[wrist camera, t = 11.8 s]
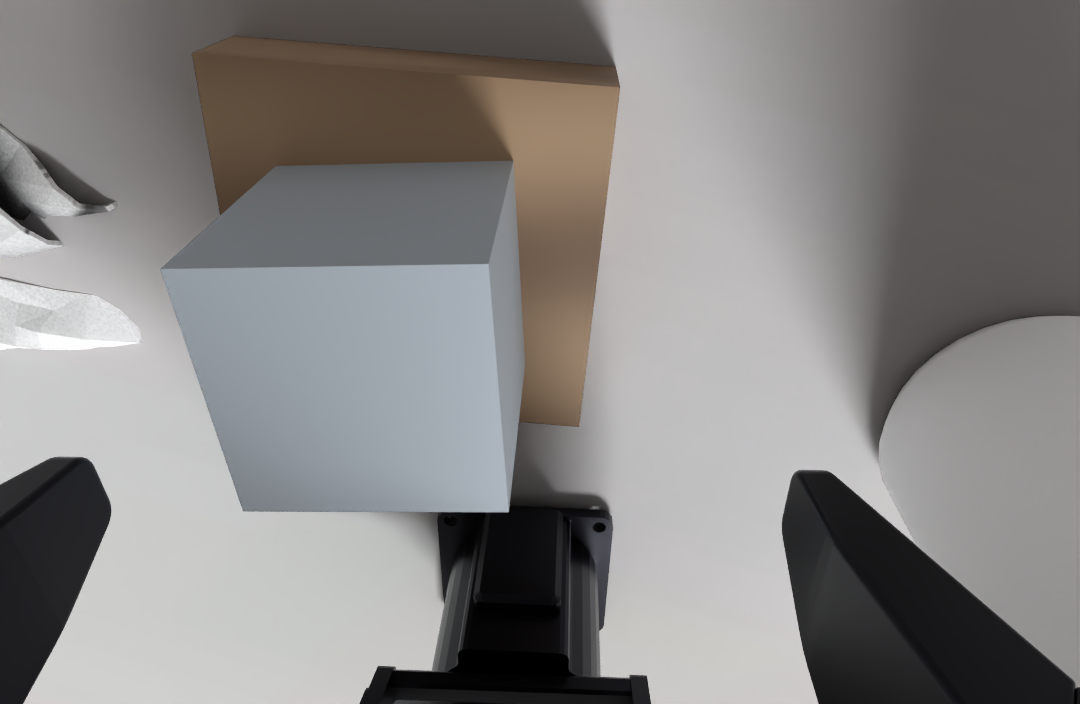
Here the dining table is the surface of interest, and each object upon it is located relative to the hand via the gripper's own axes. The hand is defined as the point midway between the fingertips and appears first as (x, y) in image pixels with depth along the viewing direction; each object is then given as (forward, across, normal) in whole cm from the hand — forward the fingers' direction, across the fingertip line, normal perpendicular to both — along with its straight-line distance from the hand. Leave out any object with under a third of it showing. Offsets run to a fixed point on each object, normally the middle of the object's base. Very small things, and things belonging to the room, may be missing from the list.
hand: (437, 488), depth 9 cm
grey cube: (+11, +3, +2) cm, 11 cm away
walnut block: (+14, +3, +2) cm, 14 cm away
